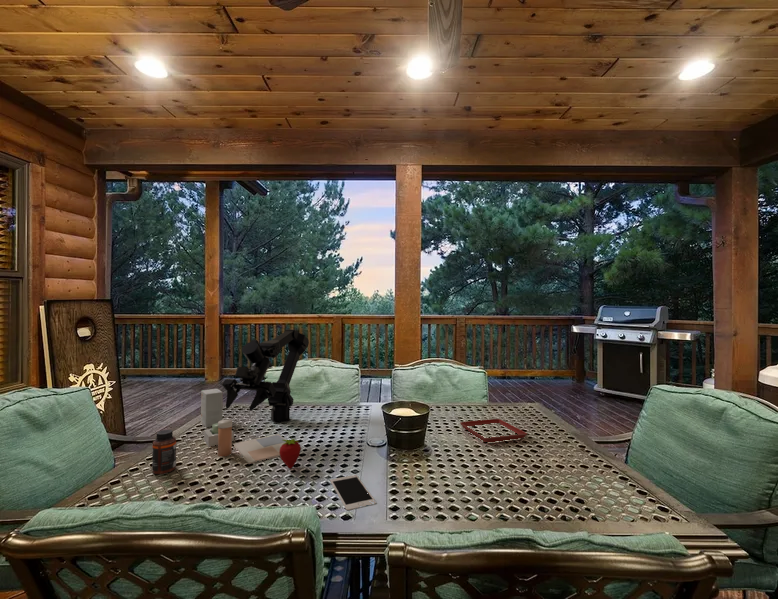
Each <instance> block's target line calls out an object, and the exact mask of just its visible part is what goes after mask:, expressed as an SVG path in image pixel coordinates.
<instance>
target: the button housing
mask: <svg viewBox="0 0 778 599" xmlns="http://www.w3.org/2000/svg"><path fill="white" fill-rule="evenodd" d="M234 433H235V432H234V430H232V441H235V440H234V439H235V438H234V437H235V436H234V435H235V434H234ZM203 442H205V444H206V446H207V447H208V448H211V446H212V447H216V446H218V434H212V428H207V429H204V430H203ZM215 445H216V446H215Z"/></svg>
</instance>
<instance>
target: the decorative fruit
mask: <svg viewBox="0 0 778 599" xmlns="http://www.w3.org/2000/svg"><path fill="white" fill-rule="evenodd" d="M287 435H288V436H289V437H290V438H291V439H285V440H283V441H286V443H284V444H283V445H282V446H281V447H280V452H279V453H280V456H279V457H280V459H281V461H282V462H283V463H284V465H285V466H286V467H287V468H288V469H293V467H294V465H295V464H296V462H297V461H298V458H299V457H300V454H301V451H302V448H301V444H300V441H299V440H296V438H293V437H292V436H291V434H287Z"/></svg>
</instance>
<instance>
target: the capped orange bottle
mask: <svg viewBox="0 0 778 599" xmlns="http://www.w3.org/2000/svg"><path fill="white" fill-rule="evenodd" d="M232 429H233V420H232V419H222V420H221V421H219V422H218V445H217V456H218V457H222V458H223V456H224V457H229V456H230V454H231V455H232V451H233V450H232V447H233V442H232V431H233V430H232Z"/></svg>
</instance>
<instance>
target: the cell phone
mask: <svg viewBox="0 0 778 599" xmlns="http://www.w3.org/2000/svg"><path fill="white" fill-rule="evenodd" d="M329 481H330V483H331V485H332V487H333V489H334V491H335V493H336V494H337V496H338V498H339V500H340V501H341V503H342V505H343V507H344V508H345V511H350V510H351V511H352V510H356V509H355V508H357V509H359V508H358V507H360V506H365V507H367V506H366V505H370V504H372V503H371V502H374V505H376V504H375V503H376V502H377V501H376V500H375V498H374V497H373V495H372V494H371V493H370V491H369V490H368V489H367V487H366V485H365V484H364V483H363V482H362V480H361V479H360V478H359V476H358V475H357V474H353V475H347V476H343V477H337V478H331V479H330V480H329ZM366 489H367V490H366ZM368 491H369V492H368ZM367 493H368V494H367ZM373 500H375V501H376V502H375V501H373ZM369 501H371V502H369ZM370 506H371V505H370Z"/></svg>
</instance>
